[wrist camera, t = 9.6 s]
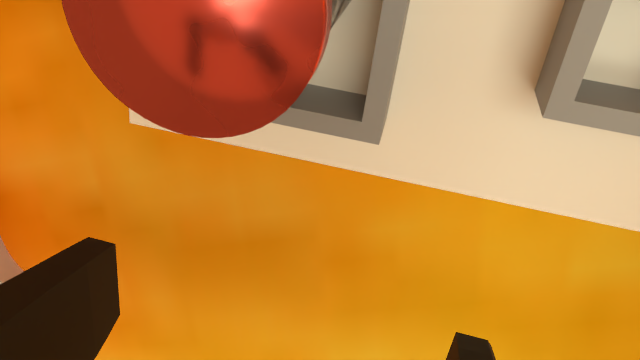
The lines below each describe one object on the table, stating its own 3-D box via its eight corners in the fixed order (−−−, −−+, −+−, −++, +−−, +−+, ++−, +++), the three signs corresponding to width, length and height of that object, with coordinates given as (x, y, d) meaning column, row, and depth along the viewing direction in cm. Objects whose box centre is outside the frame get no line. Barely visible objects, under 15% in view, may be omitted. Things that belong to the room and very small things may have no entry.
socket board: (977, -209, 12) (1110, -224, 10) (713, 231, 19) (753, 292, 16) (124, -308, 15) (54, -341, 12) (143, 111, 21) (99, 147, 18)
